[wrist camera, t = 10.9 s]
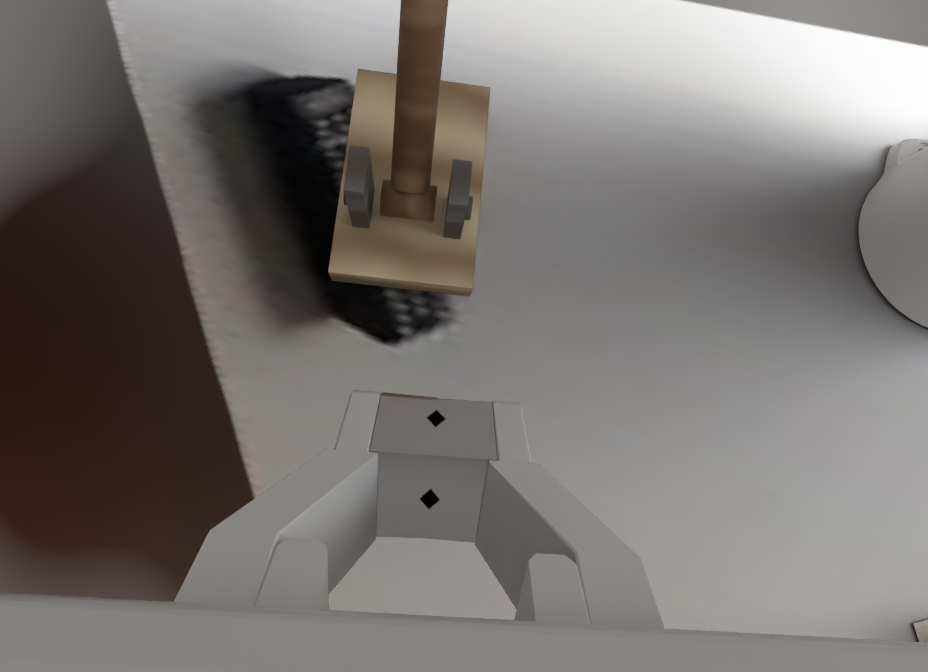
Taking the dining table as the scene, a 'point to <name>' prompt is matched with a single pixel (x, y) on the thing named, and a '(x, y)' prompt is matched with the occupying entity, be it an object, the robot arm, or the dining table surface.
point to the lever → (415, 111)
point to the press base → (453, 172)
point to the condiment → (922, 630)
